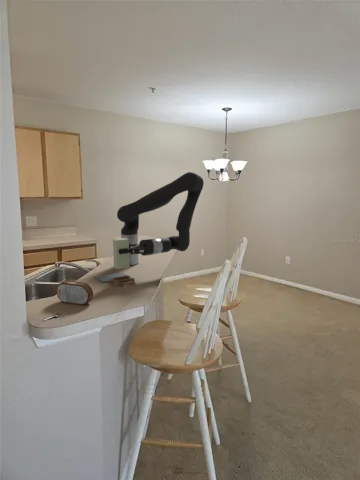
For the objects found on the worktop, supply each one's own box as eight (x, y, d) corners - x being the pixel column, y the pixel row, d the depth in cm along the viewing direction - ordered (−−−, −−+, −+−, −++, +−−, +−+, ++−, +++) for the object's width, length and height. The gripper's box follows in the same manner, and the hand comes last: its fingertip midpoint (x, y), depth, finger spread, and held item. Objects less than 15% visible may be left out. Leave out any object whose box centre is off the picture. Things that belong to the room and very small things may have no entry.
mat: (95, 278, 153) (95, 277, 152) (122, 273, 160) (122, 272, 160) (102, 283, 144) (102, 281, 144) (130, 278, 152) (130, 276, 152)
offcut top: (121, 285, 140) (121, 283, 140) (131, 282, 143) (131, 280, 143) (125, 287, 138) (125, 284, 137) (135, 284, 141) (135, 282, 141)
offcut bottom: (120, 287, 140) (120, 285, 140) (133, 284, 144) (133, 282, 143) (124, 289, 137) (124, 287, 137) (136, 286, 141) (136, 284, 140)
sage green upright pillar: (114, 267, 144) (113, 239, 142) (126, 265, 147) (125, 238, 145) (117, 269, 141) (116, 240, 139) (129, 267, 144) (128, 239, 142)
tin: (94, 304, 118) (93, 282, 117) (89, 307, 115) (88, 284, 114) (61, 299, 123) (59, 279, 122) (55, 302, 120) (54, 281, 119)
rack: (109, 282, 145) (109, 278, 145) (127, 279, 150) (127, 275, 150) (116, 286, 139) (115, 281, 139) (134, 282, 144) (134, 278, 144)
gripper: (143, 237, 156) (110, 240, 147) (158, 241, 145) (123, 245, 135) (144, 252, 158) (111, 256, 148) (158, 257, 146) (124, 262, 137)
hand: (117, 250), depth 142 cm, fingers closed on sage green upright pillar, 3 cm apart
